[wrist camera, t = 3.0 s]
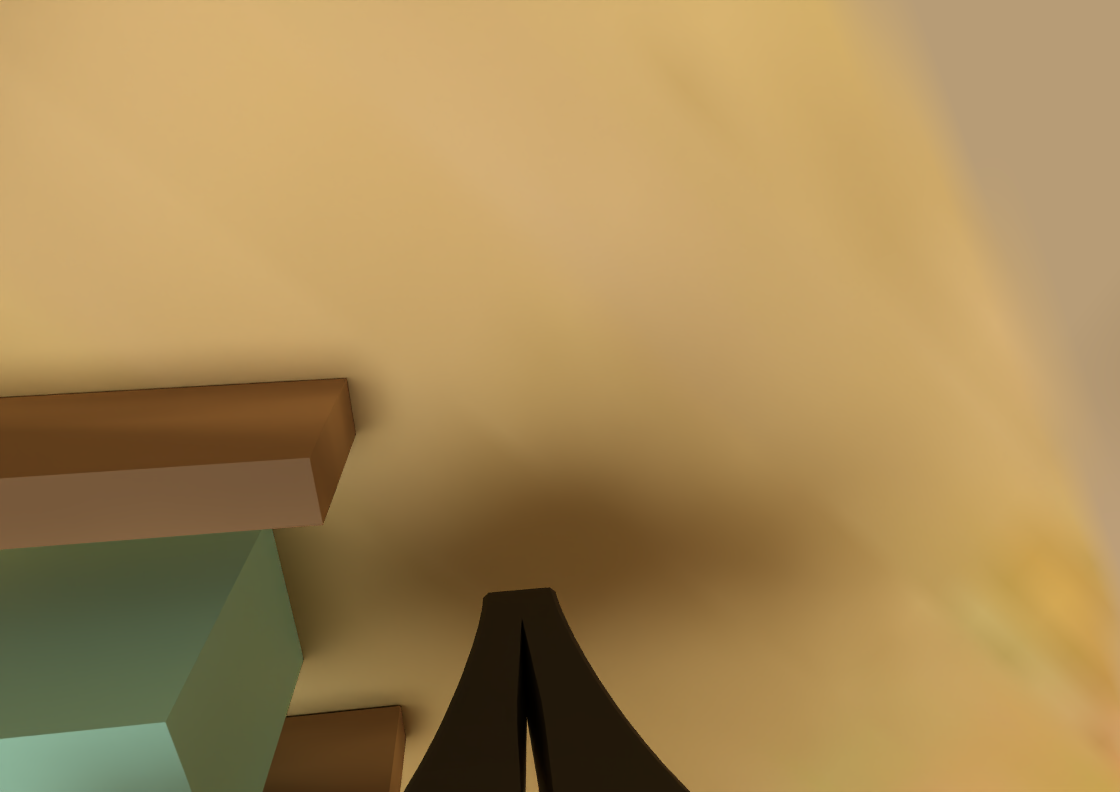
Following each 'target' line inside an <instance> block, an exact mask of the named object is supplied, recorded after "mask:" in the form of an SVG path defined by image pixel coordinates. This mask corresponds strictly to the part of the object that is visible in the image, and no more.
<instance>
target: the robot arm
mask: <svg viewBox="0 0 1120 792" xmlns="http://www.w3.org/2000/svg"><path fill="white" fill-rule="evenodd" d="M527 720H528V727H529V733H530V739H531V745H532V751H533V757H534V763H535V769H536V775H537V781H538V786H539V792H690V791H689V790H688V789H687V788H686V787H685V786H684V785H683V784H682V783H681V782H680V781H679V780H678V779H677V778H676V776H675V775H674V774H673V773H672V772H671V771H670V770H669V769H668V768H667V767H666V766H665V765H664V764H663V763H662V761H661V760H660V759H659V758H658V757H657V756H656V754H655V753H654V752H653V751H652V750H651V749H650V747H649V746H648V745H647V744H646V743H645V742H644V740H643V739H642V738H641V737H640V735H639V734H638V733H637V731H636V730H635V729H634V728H633V726H632V725H631V724H630V723H629V721H628V720H627V719H626V717H625V716H624V715H623V713H622V712H621V710H620V709H619V708H618V706H617V705H616V704H615V702H614V701H613V699H612V698H611V696H610V695H609V693H608V692H607V690H606V689H605V687H604V686H603V684H602V683H601V681H600V680H599V678H598V677H597V675H596V673H595V672H594V670H593V668H592V667H591V665H590V663H589V662H588V660H587V658H586V657H585V655H584V653H583V651H582V650H581V648H580V646H579V644H578V643H577V641H576V639H575V637H574V635H573V633H572V631H571V629H570V627H569V625H568V623H567V621H566V619H565V616H564V614H563V612H562V609H561V607H560V604H559V602H558V599H557V596H556V592H555V591H554V590H552V589H551V588H550V587H549V588H538V589H526V590H515V591H503V592H492V593H488V594H487V595H486V596H485V597H484V598H483V606H482V612H481V617H480V621H479V625H478V629H477V632H476V636H475V639H474V642H473V646H472V649H471V652H470V654H469V657H468V660H467V663H466V665H465V668H464V671H463V674H462V677H461V679H460V682H459V684H458V686H457V689H456V691H455V693H454V696H453V698H452V700H451V702H450V705H449V707H448V709H447V712H446V714H445V716H444V718H443V720H442V723H441V725H440V727H439V729H438V731H437V733H436V735H435V737H434V739H433V741H432V743H431V745H430V746H429V748H428V750H427V752H426V754H425V756H424V758H423V760H422V761H421V763H420V765H419V767H418V769H417V770H416V772H415V774H414V775H413V777H412V779H411V780H410V782H409V784H408V785H407V787H406V789H405V791H404V792H526V739H527Z"/></svg>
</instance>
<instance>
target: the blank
mask: <svg viewBox="0 0 1120 792" xmlns="http://www.w3.org/2000/svg"><path fill="white" fill-rule="evenodd" d="M303 660H304V659H303V655H302V650H301V646H300V642H299V638H298V634H297V630H296V625H295V621H294V617H293V613H292V609H291V605H290V601H289V596H288V592H287V588H286V584H285V580H284V576H283V572H282V567H281V563H280V559H279V555H278V551H277V547H276V543H275V538H274V534H273V530H272V529H264V530H251V531H238V532H224V533H211V534H198V535H185V536H172V537H159V538H146V539H133V540H120V541H107V542H94V543H81V544H68V545H55V546H42V547H28V548H15V549H2V550H0V792H263V788H264V785H265V782H266V779H267V776H268V772H269V769H270V766H271V763H272V759H273V756H274V753H275V750H276V747H277V743H278V740H279V737H280V734H281V731H282V727H283V724H284V721H285V718H286V714H287V711H288V708H289V705H290V702H291V698H292V695H293V692H294V689H295V685H296V682H297V679H298V676H299V673H300V669H301V666H302V663H303Z"/></svg>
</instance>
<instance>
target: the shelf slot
mask: <svg viewBox="0 0 1120 792" xmlns="http://www.w3.org/2000/svg"><path fill="white" fill-rule="evenodd" d="M355 435H356V433H355V427H354V421H353V415H352V409H351V403H350V397H349V391H348V385H347V378H345V379H327V380H309V381H291V382H274V383H256V384H238V385H220V386H202V387H185V388H167V389H149V390H131V391H114V392H96V393H78V394H60V395H42V396H25V397H7V398H0V550H2V549H15V548H28V547H42V546H55V545H68V544H81V543H94V542H107V541H120V540H133V539H146V538H159V537H172V536H185V535H198V534H211V533H224V532H238V531H251V530H264V529H277V528H290V527H303V526H316V525H323V523H324V521H325V518H326V515H327V512H328V510H329V507H330V504H331V501H332V499H333V496H334V493H335V490H336V488H337V485H338V482H339V479H340V477H341V474H342V471H343V468H344V466H345V463H346V460H347V457H348V454H349V452H350V449H351V446H352V443H353V441H354V438H355ZM405 743H406V737H405V731H404V725H403V719H402V713H401V707H400V706H394V707H384V708H374V709H365V710H355V711H345V712H336V713H326V714H316V715H306V716H297V717H287V718H285V721H284V724H283V727H282V731H281V734H280V737H279V740H278V743H277V747H276V750H275V753H274V756H273V759H272V763H271V766H270V769H269V772H268V776H267V779H266V782H265V785H264V788H263V792H400V787H401V778H402V770H403V761H404V752H405Z"/></svg>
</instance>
